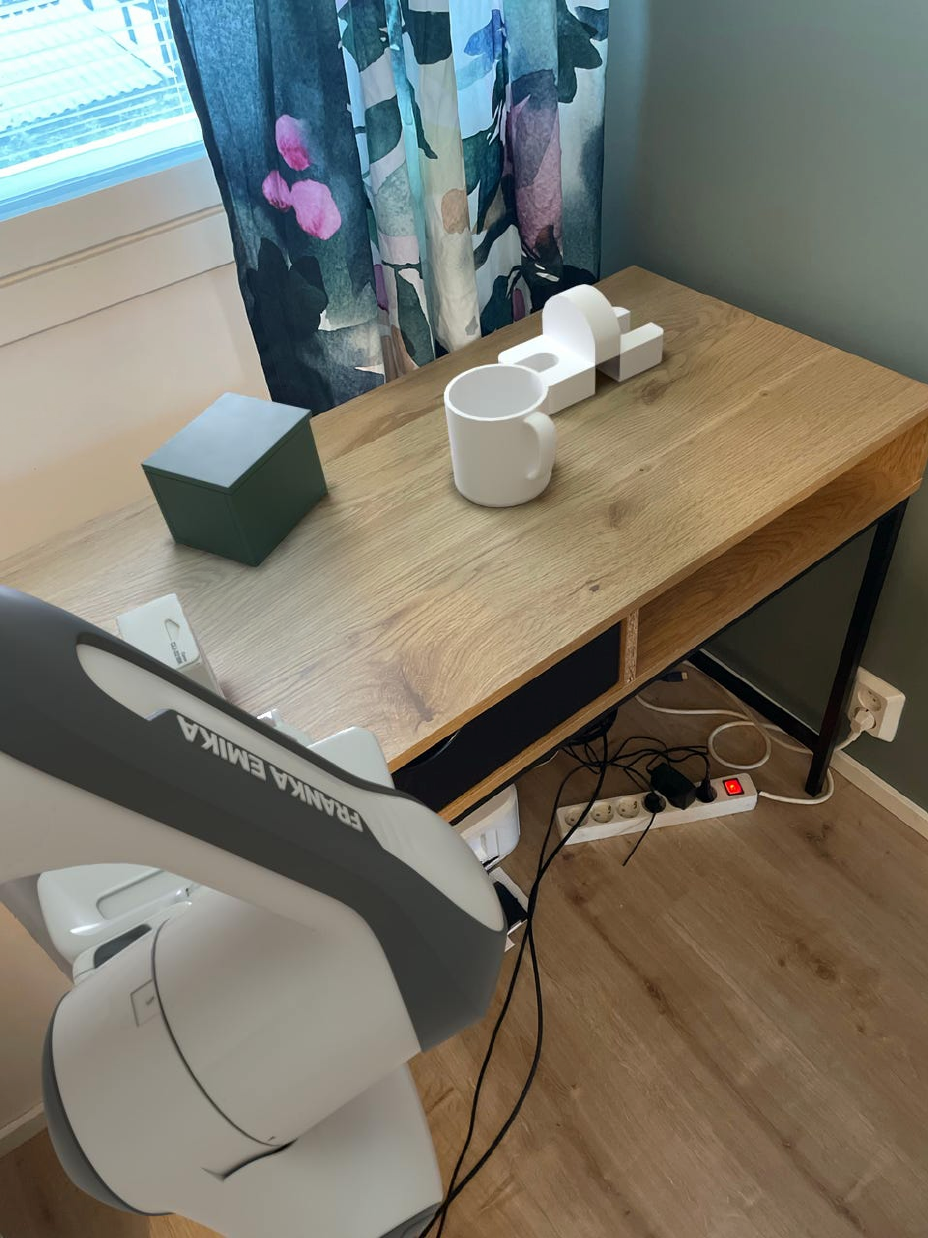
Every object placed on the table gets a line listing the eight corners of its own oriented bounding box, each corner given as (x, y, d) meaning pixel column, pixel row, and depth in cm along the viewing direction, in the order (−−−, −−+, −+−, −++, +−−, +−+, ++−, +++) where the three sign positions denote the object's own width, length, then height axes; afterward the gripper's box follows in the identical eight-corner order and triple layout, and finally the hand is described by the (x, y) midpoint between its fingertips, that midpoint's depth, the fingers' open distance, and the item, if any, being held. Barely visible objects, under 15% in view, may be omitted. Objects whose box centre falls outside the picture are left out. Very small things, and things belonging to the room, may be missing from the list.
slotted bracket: (613, 330, 111) (615, 252, 104) (666, 359, 105) (672, 279, 98) (495, 383, 106) (488, 304, 99) (544, 417, 100) (540, 336, 93)
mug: (435, 479, 94) (422, 393, 86) (506, 438, 98) (500, 352, 90) (516, 533, 86) (509, 444, 79) (589, 486, 90) (589, 397, 83)
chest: (248, 470, 98) (225, 400, 92) (328, 491, 94) (309, 420, 88) (174, 541, 91) (143, 471, 85) (256, 567, 87) (230, 495, 81)
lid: (229, 397, 92) (227, 391, 92) (313, 416, 88) (311, 409, 88) (143, 470, 85) (140, 463, 84) (230, 495, 81) (228, 487, 80)
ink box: (165, 710, 75) (111, 612, 67) (222, 687, 76) (176, 587, 68) (190, 785, 70) (135, 688, 61) (251, 758, 71) (204, 659, 62)
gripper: (431, 816, 47) (340, 650, 56) (41, 1004, 42) (11, 789, 52) (445, 875, 52) (359, 712, 61) (94, 1051, 47) (58, 845, 56)
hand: (197, 748), depth 56 cm, fingers open, 8 cm apart
